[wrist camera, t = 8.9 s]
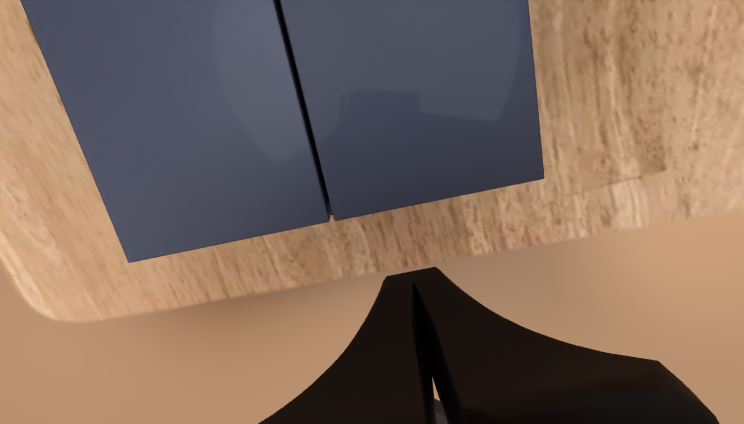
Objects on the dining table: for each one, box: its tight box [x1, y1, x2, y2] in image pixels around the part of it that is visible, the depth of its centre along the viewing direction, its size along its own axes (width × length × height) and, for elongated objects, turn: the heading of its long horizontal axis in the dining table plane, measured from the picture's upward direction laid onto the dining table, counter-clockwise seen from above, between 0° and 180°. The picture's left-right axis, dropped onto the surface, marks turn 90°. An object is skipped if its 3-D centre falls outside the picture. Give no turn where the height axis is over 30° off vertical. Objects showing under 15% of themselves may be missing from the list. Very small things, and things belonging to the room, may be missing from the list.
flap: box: [20, 0, 330, 263], centre depth 13 cm, size 13×6×1 cm, turn 12°
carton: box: [276, 0, 544, 221], centre depth 16 cm, size 13×13×7 cm
